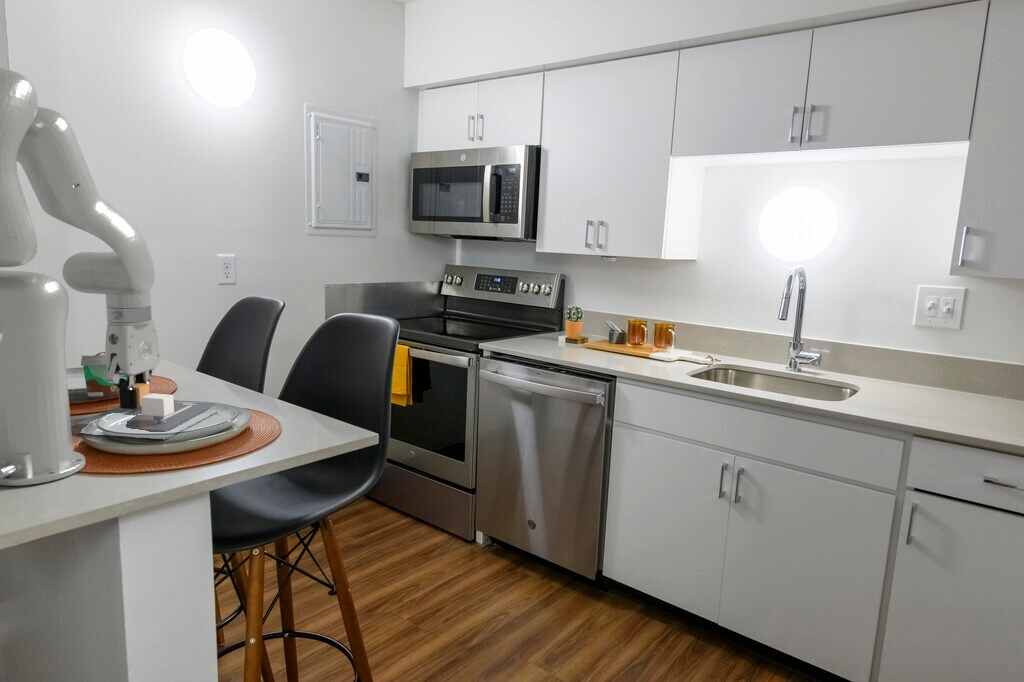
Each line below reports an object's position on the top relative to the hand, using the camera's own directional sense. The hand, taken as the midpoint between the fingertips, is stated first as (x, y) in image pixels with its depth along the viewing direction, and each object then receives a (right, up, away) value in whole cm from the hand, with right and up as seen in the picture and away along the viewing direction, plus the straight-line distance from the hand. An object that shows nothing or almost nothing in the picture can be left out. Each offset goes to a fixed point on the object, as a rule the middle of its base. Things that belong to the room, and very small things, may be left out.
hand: (135, 404), depth 129 cm
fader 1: (0, 0, 0) cm, 0 cm away
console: (+4, -3, -1) cm, 6 cm away
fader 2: (+8, -2, -7) cm, 11 cm away
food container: (-14, +1, +16) cm, 21 cm away
